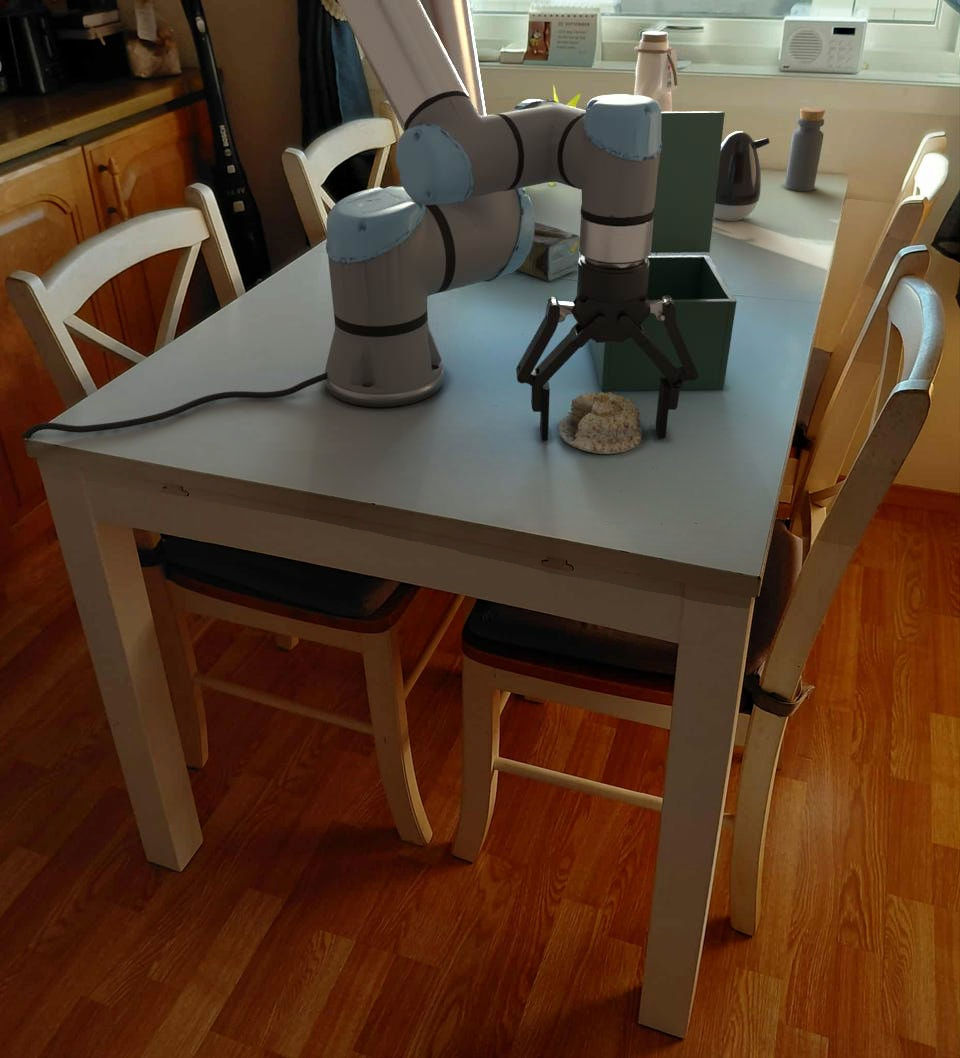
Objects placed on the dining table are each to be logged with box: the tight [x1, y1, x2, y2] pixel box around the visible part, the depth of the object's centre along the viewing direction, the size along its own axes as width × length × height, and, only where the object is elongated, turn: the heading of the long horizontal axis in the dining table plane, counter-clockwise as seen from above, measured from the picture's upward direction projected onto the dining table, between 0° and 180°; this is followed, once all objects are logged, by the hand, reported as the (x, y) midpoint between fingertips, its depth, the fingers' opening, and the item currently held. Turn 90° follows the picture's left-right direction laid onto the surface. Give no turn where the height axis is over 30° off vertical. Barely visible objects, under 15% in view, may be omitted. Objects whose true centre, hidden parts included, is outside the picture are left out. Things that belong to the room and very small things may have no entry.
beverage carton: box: [516, 220, 580, 282], centre depth 162 cm, size 8×19×7 cm, turn 45°
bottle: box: [784, 106, 826, 192], centre depth 196 cm, size 6×6×15 cm
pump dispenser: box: [713, 131, 770, 222], centre depth 180 cm, size 10×10×15 cm
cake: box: [557, 391, 644, 455], centre depth 114 cm, size 10×10×5 cm
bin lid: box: [651, 111, 726, 254], centre depth 127 cm, size 17×16×1 cm
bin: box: [588, 254, 738, 392], centre depth 128 cm, size 17×16×12 cm
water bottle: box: [633, 30, 678, 112], centre depth 196 cm, size 10×9×28 cm
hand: (602, 434), depth 115 cm, fingers open, 13 cm apart
